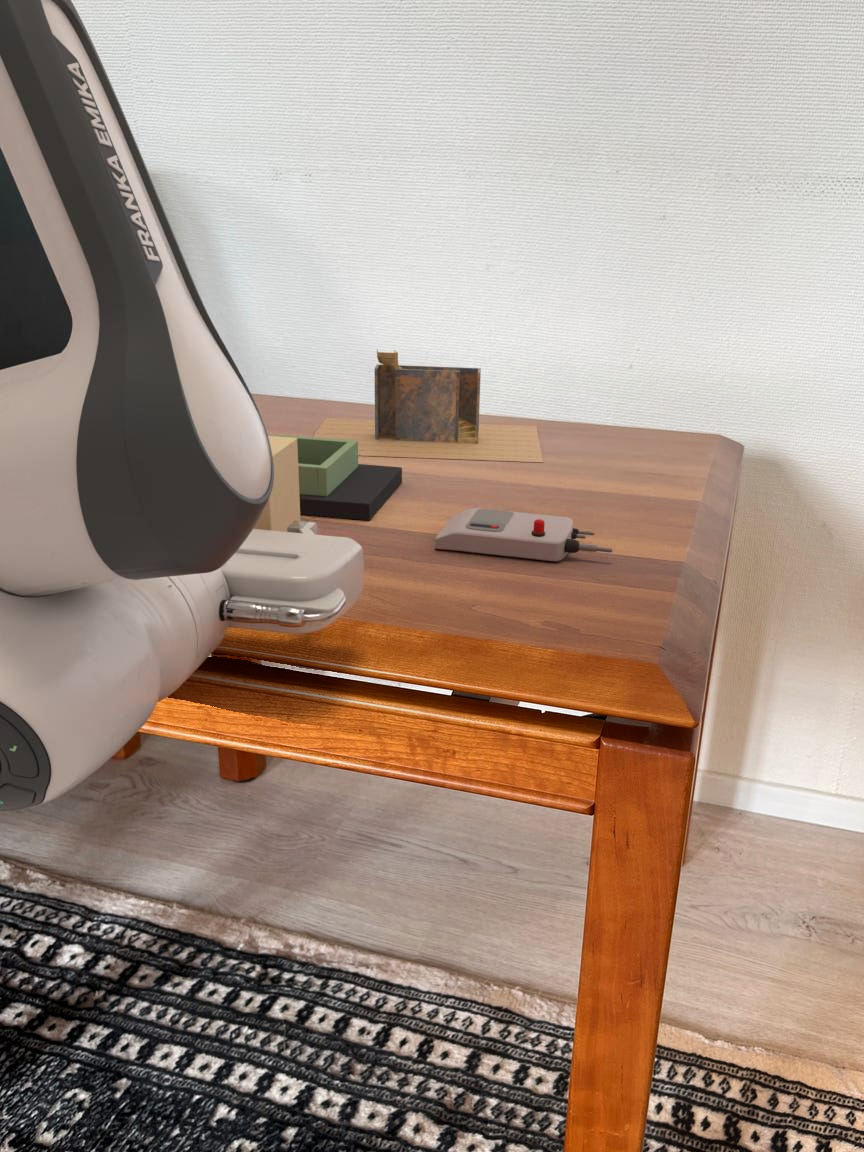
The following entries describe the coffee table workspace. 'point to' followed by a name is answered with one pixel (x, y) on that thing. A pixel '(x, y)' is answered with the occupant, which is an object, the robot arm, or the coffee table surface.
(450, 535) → the grey electronic control box
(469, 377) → the architectural model on board
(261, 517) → the tall beige rectangular block
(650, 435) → the coffee table surface
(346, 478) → the base pad
